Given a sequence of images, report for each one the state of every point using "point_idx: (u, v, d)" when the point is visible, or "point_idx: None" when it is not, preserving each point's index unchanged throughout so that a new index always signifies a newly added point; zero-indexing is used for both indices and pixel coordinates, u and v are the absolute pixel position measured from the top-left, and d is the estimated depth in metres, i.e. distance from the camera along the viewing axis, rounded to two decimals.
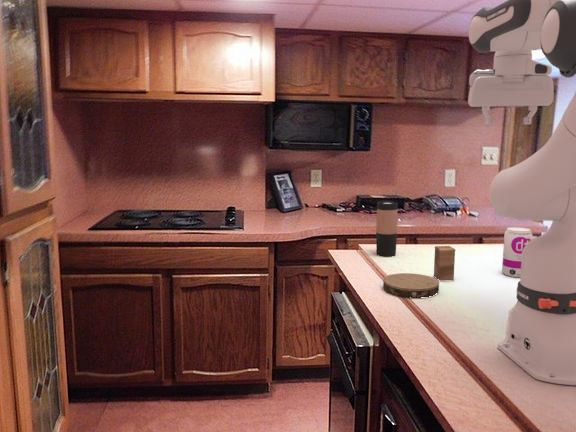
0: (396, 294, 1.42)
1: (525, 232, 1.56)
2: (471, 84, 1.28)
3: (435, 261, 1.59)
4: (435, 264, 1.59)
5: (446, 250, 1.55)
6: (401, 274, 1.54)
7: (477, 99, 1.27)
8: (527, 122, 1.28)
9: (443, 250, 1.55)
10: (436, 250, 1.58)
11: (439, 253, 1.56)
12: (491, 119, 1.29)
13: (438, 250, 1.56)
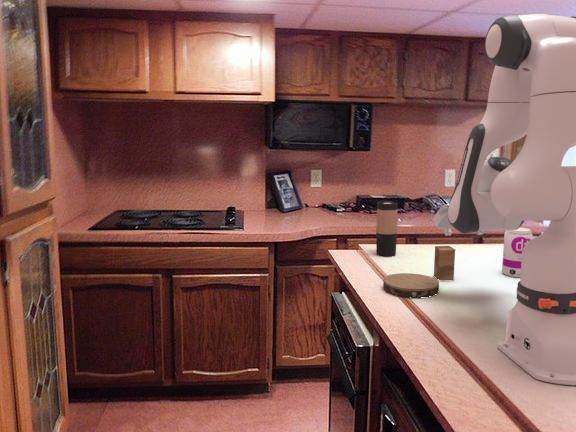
0: (396, 294, 1.42)
1: (525, 232, 1.56)
2: (440, 214, 1.37)
3: (435, 261, 1.59)
4: (435, 264, 1.59)
5: (446, 250, 1.55)
6: (401, 274, 1.54)
7: (442, 226, 1.39)
8: (479, 234, 1.45)
9: (443, 250, 1.55)
10: (436, 250, 1.58)
11: (439, 253, 1.56)
12: (450, 233, 1.44)
13: (438, 250, 1.56)
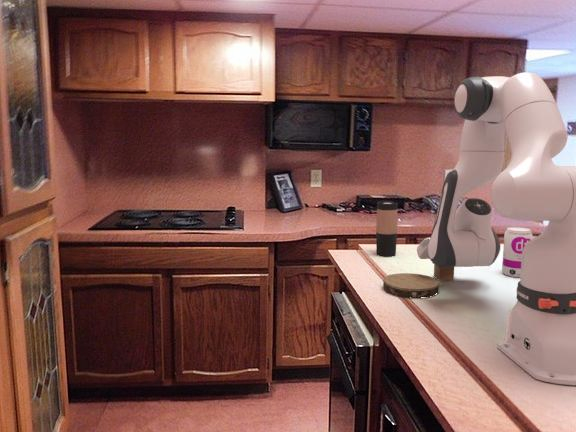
0: (396, 294, 1.42)
1: (525, 232, 1.56)
2: (422, 246, 1.49)
3: None
4: None
5: None
6: (401, 274, 1.54)
7: (424, 256, 1.51)
8: None
9: None
10: None
11: None
12: None
13: None
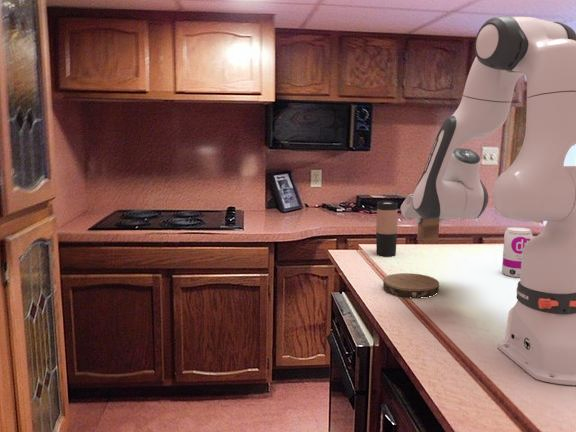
0: (396, 294, 1.42)
1: (525, 232, 1.56)
2: (407, 202, 1.41)
3: None
4: (419, 225, 1.52)
5: None
6: (401, 274, 1.54)
7: (408, 214, 1.44)
8: None
9: None
10: None
11: None
12: (420, 221, 1.49)
13: None
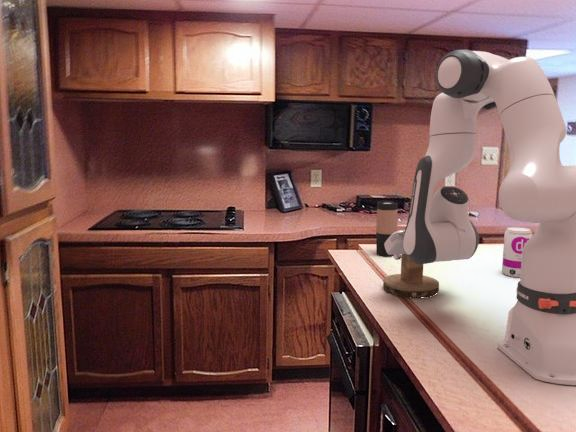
0: (396, 294, 1.42)
1: (525, 232, 1.56)
2: (392, 240, 1.36)
3: (402, 263, 1.48)
4: (402, 266, 1.47)
5: None
6: None
7: (393, 252, 1.39)
8: None
9: None
10: None
11: None
12: (399, 257, 1.44)
13: None
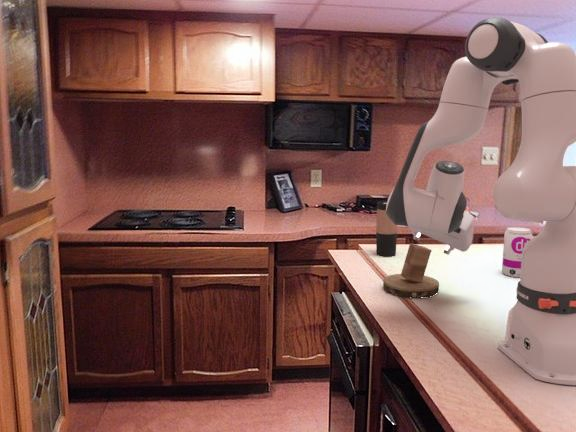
0: (396, 294, 1.42)
1: (525, 232, 1.56)
2: None
3: (406, 259, 1.48)
4: (406, 262, 1.48)
5: (422, 249, 1.44)
6: None
7: None
8: (445, 252, 1.42)
9: (420, 248, 1.44)
10: (411, 247, 1.47)
11: (414, 250, 1.45)
12: (416, 237, 1.45)
13: (414, 247, 1.45)
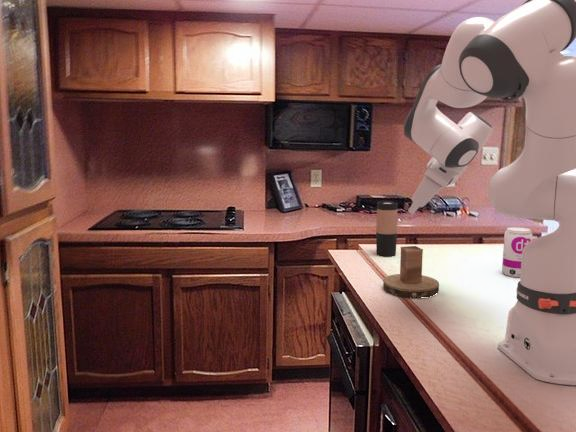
0: (396, 295, 1.42)
1: (525, 232, 1.56)
2: None
3: (401, 263, 1.48)
4: (401, 266, 1.48)
5: (413, 251, 1.44)
6: None
7: None
8: None
9: (410, 251, 1.43)
10: (402, 251, 1.47)
11: (406, 254, 1.44)
12: None
13: (405, 251, 1.45)
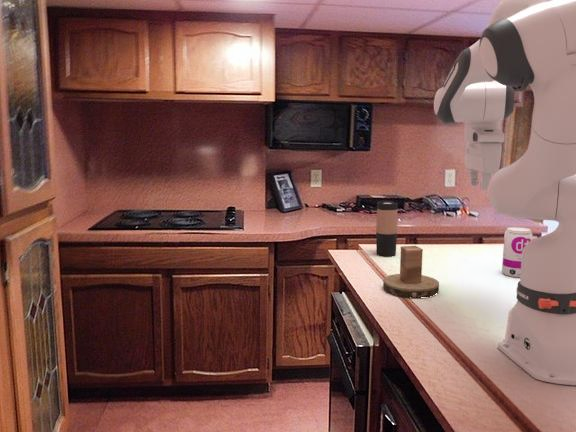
0: (396, 294, 1.42)
1: (525, 232, 1.56)
2: None
3: (401, 263, 1.48)
4: (401, 266, 1.48)
5: (413, 250, 1.44)
6: None
7: (465, 161, 1.42)
8: (481, 187, 1.30)
9: (410, 250, 1.44)
10: (402, 251, 1.47)
11: (406, 254, 1.44)
12: (471, 180, 1.39)
13: (405, 251, 1.45)
